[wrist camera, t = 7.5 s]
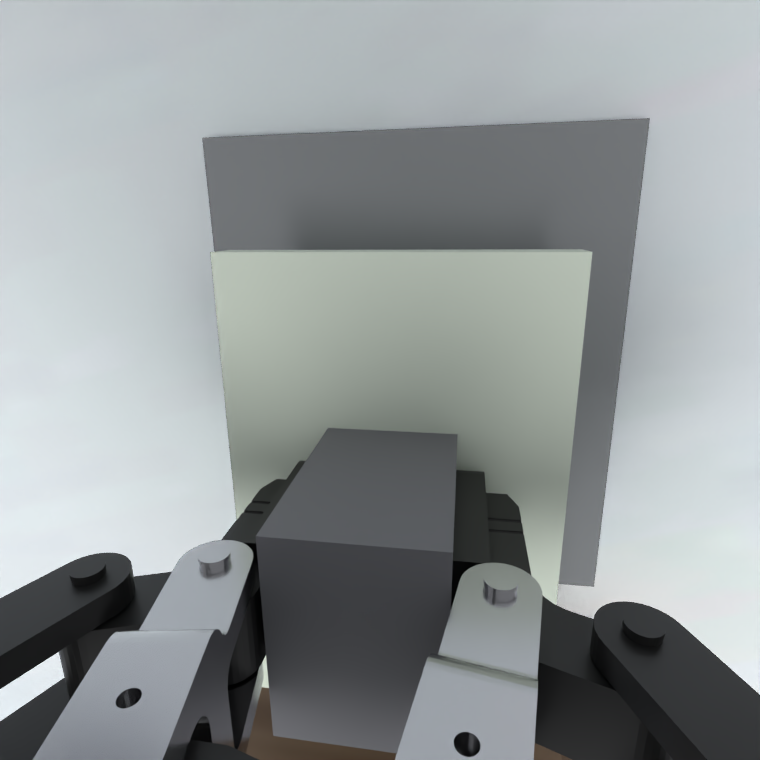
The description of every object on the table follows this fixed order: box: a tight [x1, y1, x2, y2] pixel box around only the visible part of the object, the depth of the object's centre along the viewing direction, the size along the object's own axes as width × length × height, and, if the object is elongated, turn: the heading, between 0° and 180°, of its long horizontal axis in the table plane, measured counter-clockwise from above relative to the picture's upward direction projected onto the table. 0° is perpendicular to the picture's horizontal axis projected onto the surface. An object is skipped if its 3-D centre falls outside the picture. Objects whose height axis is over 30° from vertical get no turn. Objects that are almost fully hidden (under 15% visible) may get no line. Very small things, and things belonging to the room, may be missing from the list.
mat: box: [202, 118, 650, 587], centre depth 16 cm, size 14×12×1 cm
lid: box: [210, 249, 592, 753], centre depth 11 cm, size 12×8×6 cm, turn 1°
